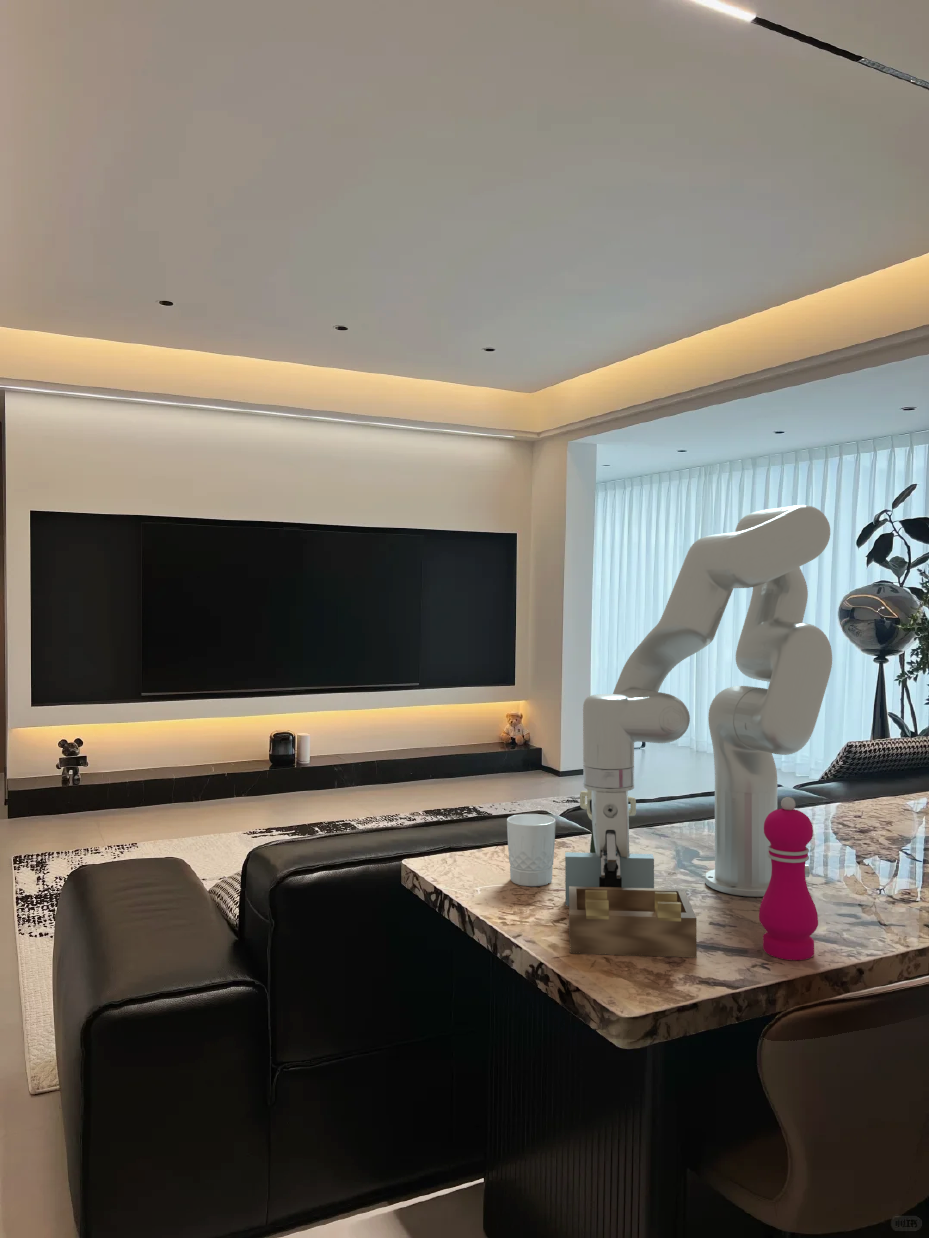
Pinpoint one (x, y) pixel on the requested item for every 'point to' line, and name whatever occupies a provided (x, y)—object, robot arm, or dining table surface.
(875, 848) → the dining table surface
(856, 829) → the dining table surface
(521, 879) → the white cup
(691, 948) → the carcass
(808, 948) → the pepper mill
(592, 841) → the character mug
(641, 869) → the door
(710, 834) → the dining table surface
